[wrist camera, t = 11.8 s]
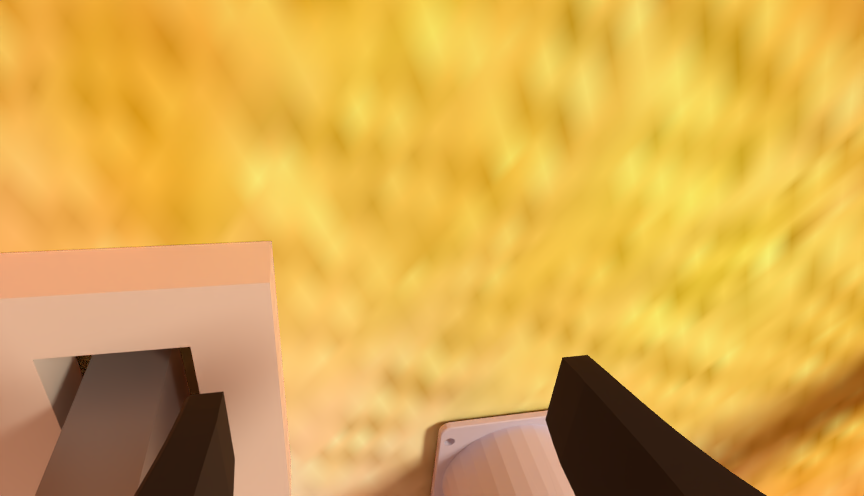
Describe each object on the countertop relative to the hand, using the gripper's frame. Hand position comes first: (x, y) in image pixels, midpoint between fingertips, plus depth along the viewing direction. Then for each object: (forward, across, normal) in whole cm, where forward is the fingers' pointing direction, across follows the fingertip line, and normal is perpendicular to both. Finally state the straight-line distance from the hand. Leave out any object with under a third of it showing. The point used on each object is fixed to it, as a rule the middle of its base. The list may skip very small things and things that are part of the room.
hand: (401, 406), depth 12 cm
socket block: (+9, +8, +8) cm, 14 cm away
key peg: (+9, +8, +8) cm, 15 cm away
